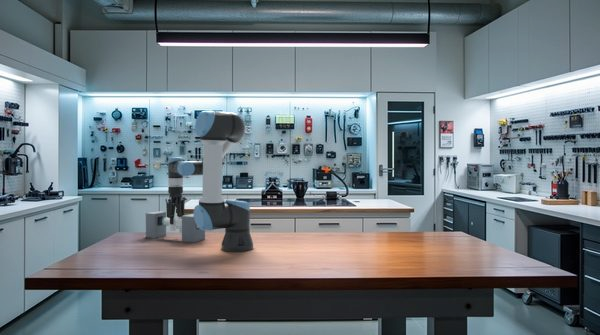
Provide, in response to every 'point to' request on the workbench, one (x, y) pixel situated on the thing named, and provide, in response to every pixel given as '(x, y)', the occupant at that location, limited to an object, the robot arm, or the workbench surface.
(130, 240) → the workbench surface
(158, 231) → the socket block
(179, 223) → the tube
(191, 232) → the sleeve
